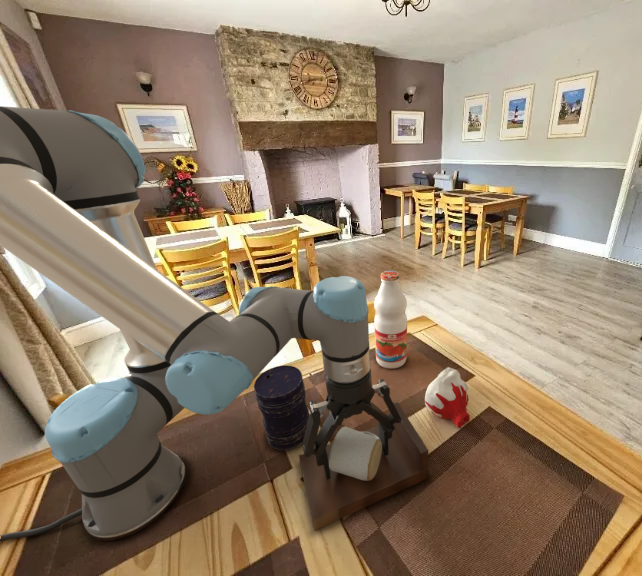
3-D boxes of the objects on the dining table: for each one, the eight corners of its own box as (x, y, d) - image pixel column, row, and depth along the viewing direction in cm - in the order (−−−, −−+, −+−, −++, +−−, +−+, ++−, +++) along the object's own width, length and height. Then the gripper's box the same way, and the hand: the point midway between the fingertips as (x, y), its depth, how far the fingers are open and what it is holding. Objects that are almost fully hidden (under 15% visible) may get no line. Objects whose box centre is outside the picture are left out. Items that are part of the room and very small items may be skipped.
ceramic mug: (371, 492, 54) (370, 462, 51) (329, 479, 57) (325, 450, 53) (388, 442, 64) (388, 414, 60) (352, 433, 66) (349, 405, 63)
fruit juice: (406, 350, 98) (407, 267, 86) (407, 369, 89) (408, 280, 78) (376, 349, 98) (373, 267, 87) (374, 369, 90) (370, 280, 78)
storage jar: (320, 422, 73) (312, 372, 67) (292, 457, 65) (280, 403, 59) (286, 409, 77) (276, 360, 71) (257, 440, 69) (242, 389, 63)
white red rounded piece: (449, 382, 83) (484, 429, 72) (411, 394, 80) (442, 446, 68) (454, 357, 79) (492, 403, 67) (414, 368, 75) (447, 420, 63)
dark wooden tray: (314, 530, 52) (307, 501, 49) (300, 465, 63) (295, 437, 60) (427, 478, 60) (428, 450, 57) (398, 428, 71) (397, 401, 68)
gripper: (275, 409, 43) (298, 505, 52) (421, 363, 51) (419, 454, 61) (271, 376, 50) (291, 467, 59) (401, 340, 58) (402, 425, 67)
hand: (356, 460), depth 60 cm, fingers closed on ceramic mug, 11 cm apart
